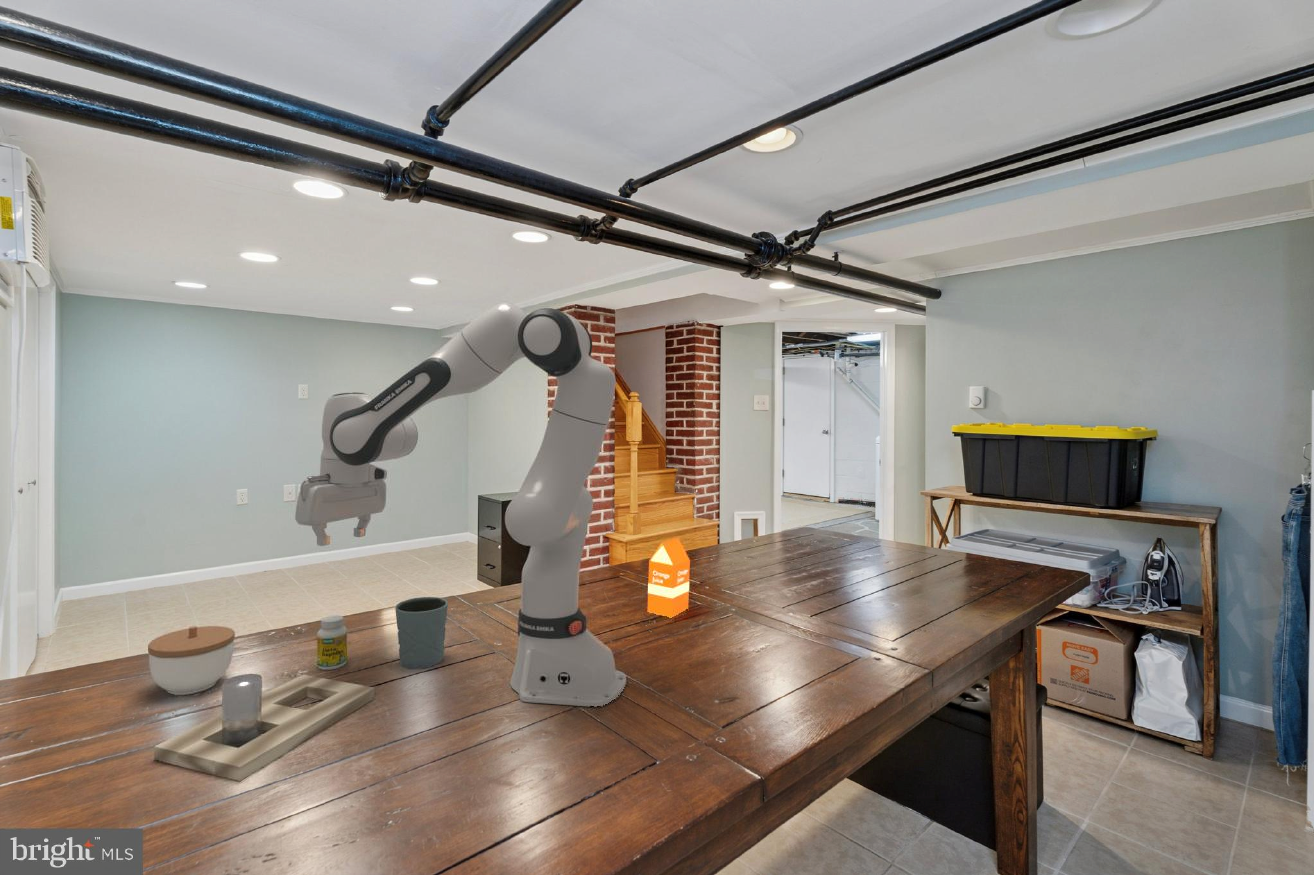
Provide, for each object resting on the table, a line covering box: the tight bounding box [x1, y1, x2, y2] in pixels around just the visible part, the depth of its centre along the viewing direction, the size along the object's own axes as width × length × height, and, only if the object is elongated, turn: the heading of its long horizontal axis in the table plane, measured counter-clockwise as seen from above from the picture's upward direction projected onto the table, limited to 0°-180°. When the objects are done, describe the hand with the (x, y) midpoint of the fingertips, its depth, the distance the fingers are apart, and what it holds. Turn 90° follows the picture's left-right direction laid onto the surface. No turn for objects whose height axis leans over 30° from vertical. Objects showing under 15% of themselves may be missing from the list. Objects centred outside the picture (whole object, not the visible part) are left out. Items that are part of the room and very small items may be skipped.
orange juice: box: [647, 537, 691, 618], centre depth 161 cm, size 8×9×20 cm
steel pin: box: [221, 673, 263, 748], centre depth 92 cm, size 5×5×10 cm
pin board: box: [153, 674, 375, 782], centre depth 98 cm, size 16×26×2 cm, turn 165°
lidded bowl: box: [147, 625, 236, 696], centre depth 111 cm, size 13×13×11 cm
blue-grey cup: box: [394, 596, 449, 670], centre depth 126 cm, size 10×10×12 cm
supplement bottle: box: [316, 614, 348, 671], centre depth 122 cm, size 5×5×10 cm
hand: (342, 540), depth 122 cm, fingers open, 8 cm apart
